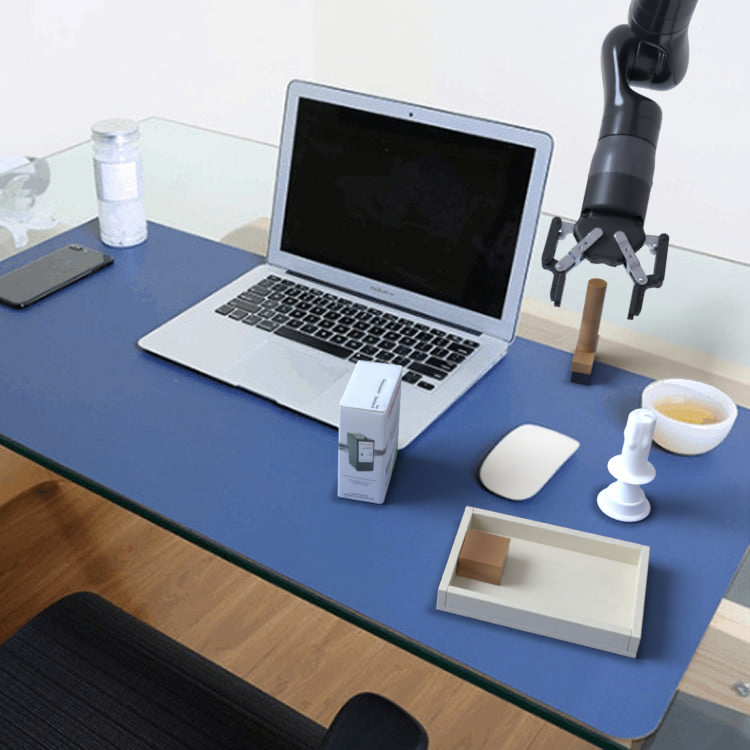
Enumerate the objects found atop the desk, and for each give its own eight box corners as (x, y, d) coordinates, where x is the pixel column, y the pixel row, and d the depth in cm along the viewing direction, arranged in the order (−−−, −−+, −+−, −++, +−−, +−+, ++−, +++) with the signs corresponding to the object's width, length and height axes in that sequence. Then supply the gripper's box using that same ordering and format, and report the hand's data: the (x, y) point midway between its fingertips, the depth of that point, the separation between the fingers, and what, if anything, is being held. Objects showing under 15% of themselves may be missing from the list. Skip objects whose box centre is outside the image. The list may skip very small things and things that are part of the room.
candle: (661, 513, 101) (685, 418, 95) (619, 529, 99) (641, 432, 93) (627, 482, 105) (648, 388, 98) (586, 496, 103) (605, 402, 96)
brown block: (508, 556, 95) (510, 538, 93) (499, 586, 92) (502, 567, 90) (466, 546, 96) (468, 528, 94) (456, 575, 92) (458, 556, 91)
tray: (645, 566, 95) (650, 546, 94) (635, 658, 86) (640, 638, 84) (464, 525, 99) (466, 505, 98) (436, 609, 90) (438, 589, 88)
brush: (595, 355, 126) (611, 270, 119) (588, 386, 120) (604, 298, 113) (576, 351, 126) (591, 266, 119) (568, 382, 120) (583, 295, 114)
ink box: (354, 446, 109) (357, 355, 102) (399, 454, 108) (404, 362, 101) (335, 498, 102) (336, 403, 95) (383, 506, 101) (388, 411, 94)
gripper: (559, 161, 118) (531, 292, 115) (684, 178, 114) (658, 313, 112) (559, 186, 125) (533, 310, 122) (677, 203, 122) (653, 330, 119)
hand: (593, 311), depth 117 cm, fingers open, 8 cm apart
